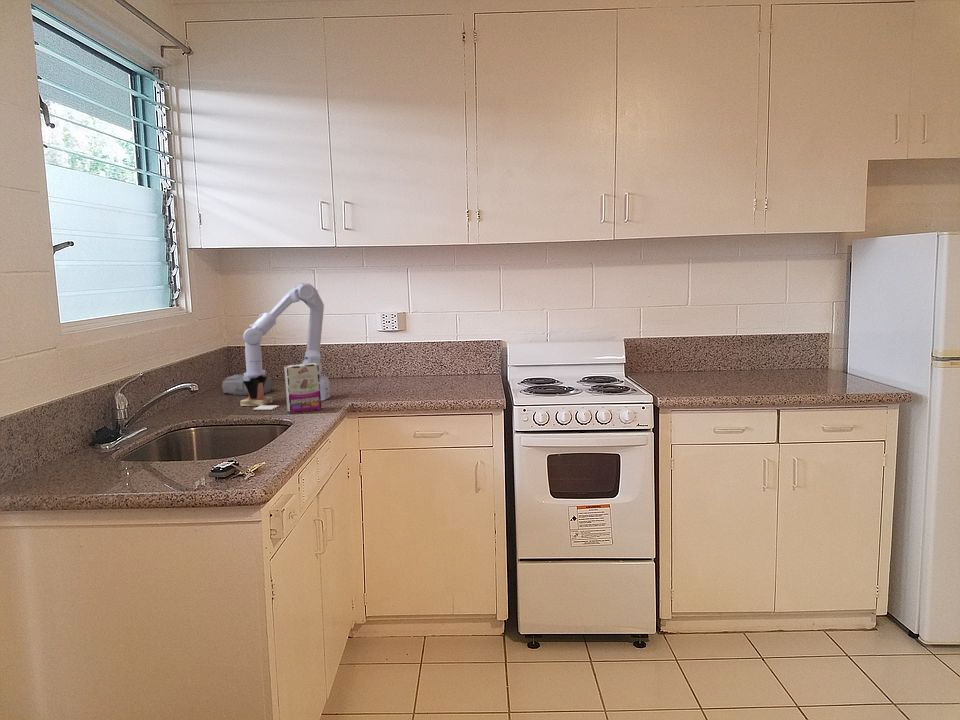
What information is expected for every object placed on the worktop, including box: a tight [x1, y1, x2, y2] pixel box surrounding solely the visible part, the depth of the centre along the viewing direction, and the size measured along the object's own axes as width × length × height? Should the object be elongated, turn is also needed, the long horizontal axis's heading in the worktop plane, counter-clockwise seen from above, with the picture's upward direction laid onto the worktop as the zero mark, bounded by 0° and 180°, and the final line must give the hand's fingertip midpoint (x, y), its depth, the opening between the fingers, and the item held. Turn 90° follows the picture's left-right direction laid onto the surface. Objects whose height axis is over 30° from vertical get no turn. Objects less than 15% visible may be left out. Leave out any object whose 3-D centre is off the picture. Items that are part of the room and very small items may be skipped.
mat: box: [252, 404, 280, 411], centre depth 258 cm, size 7×6×1 cm
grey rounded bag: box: [221, 372, 273, 396], centre depth 294 cm, size 15×8×20 cm
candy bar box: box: [283, 363, 322, 414], centre depth 252 cm, size 11×5×16 cm, turn 117°
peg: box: [248, 382, 265, 400], centre depth 267 cm, size 4×4×8 cm
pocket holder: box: [239, 396, 273, 407], centre depth 267 cm, size 8×8×2 cm
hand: (256, 397), depth 267 cm, fingers closed on peg, 4 cm apart
